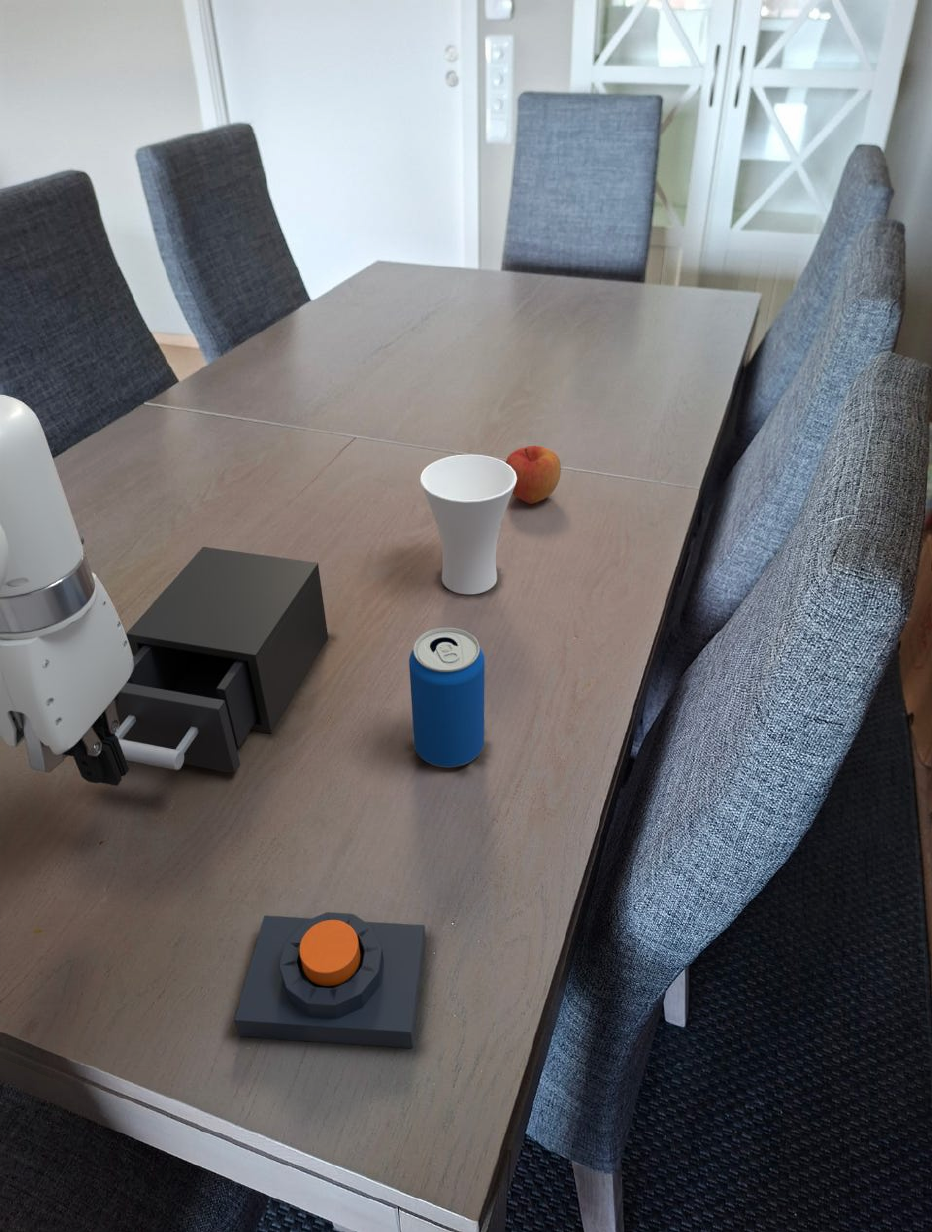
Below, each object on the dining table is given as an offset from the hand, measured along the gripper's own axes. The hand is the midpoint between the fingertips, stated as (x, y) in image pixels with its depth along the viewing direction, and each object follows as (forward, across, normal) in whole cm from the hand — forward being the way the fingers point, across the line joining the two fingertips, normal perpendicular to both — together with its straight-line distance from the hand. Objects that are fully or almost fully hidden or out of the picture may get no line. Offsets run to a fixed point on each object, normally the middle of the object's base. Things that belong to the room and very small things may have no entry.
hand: (106, 774), depth 68 cm
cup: (+8, -43, +18) cm, 48 cm away
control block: (+8, +8, +21) cm, 24 cm away
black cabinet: (+8, -22, 0) cm, 23 cm away
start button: (+4, +8, +21) cm, 23 cm away
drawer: (+7, -13, 0) cm, 14 cm away
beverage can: (+8, -16, +23) cm, 30 cm away
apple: (+9, -63, +22) cm, 67 cm away
